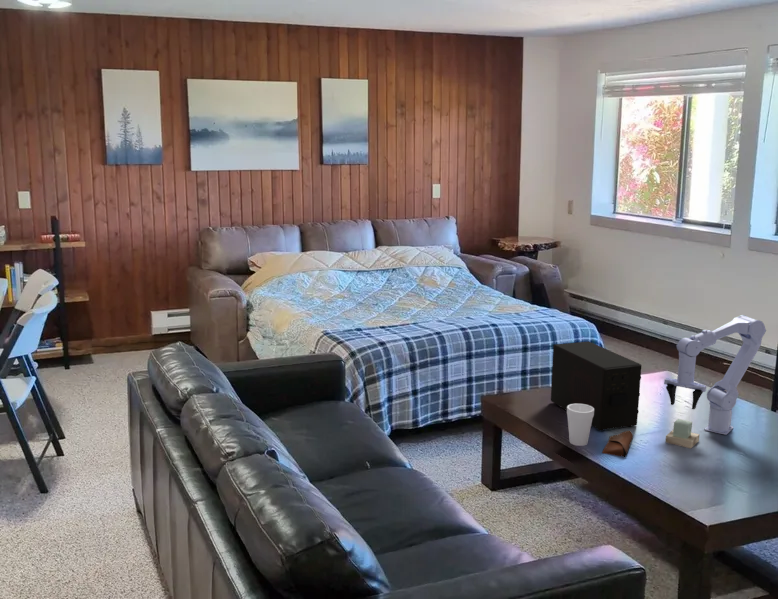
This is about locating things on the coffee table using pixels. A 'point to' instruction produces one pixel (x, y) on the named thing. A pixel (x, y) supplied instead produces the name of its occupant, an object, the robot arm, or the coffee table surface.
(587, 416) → the foam cup
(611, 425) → the black rectangular box
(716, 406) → the robot arm
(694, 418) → the coffee table surface
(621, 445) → the sunglasses case
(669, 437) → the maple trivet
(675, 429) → the sage cube
